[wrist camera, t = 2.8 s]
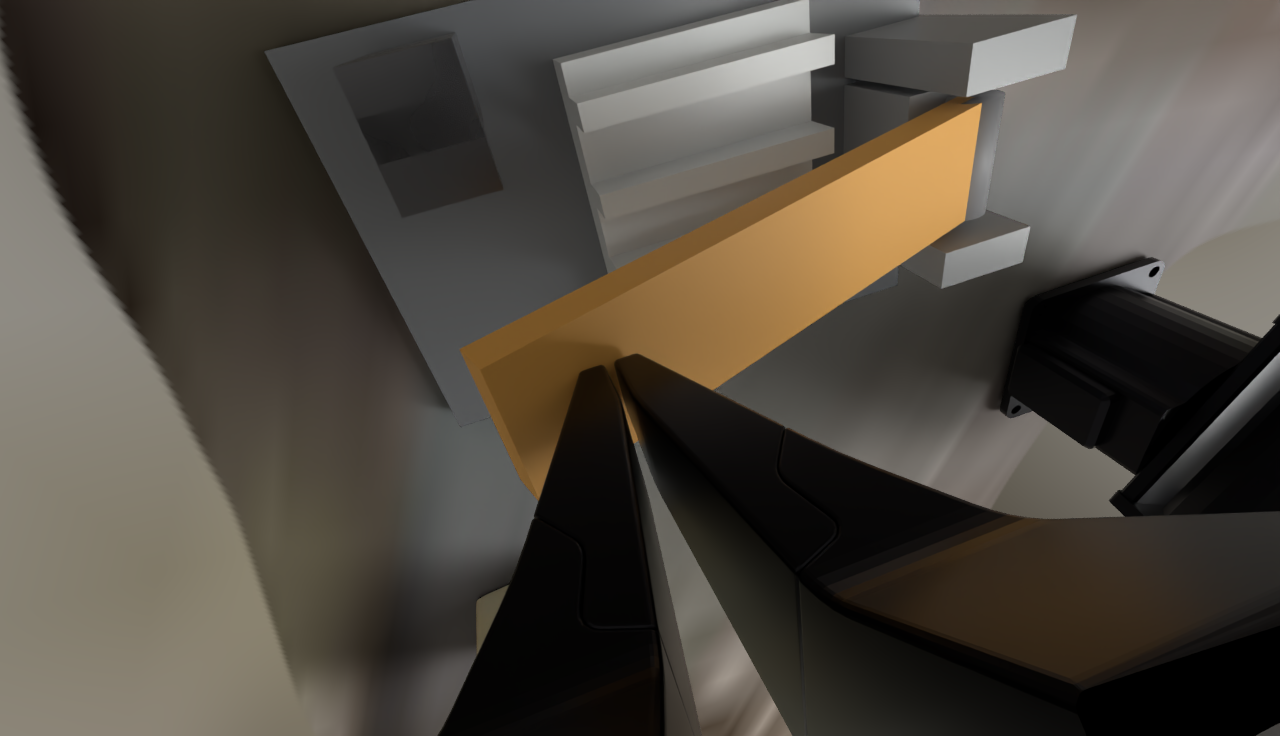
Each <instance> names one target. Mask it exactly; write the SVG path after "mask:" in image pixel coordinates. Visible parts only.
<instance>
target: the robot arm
mask: <svg viewBox="0 0 1280 736" xmlns="http://www.w3.org/2000/svg"><path fill="white" fill-rule="evenodd" d="M1164 266H1165V264H1164V262H1163V261H1161V260H1158V259H1155V258H1152V257H1151V258H1147V259H1144V260H1141V261H1138V262H1135V263H1132V264H1129V265H1126V266H1123V267H1120V268H1117V269H1114V270H1111V271H1108V272H1105V273H1102V274H1099V275H1096V276H1093V277H1090V278H1087V279H1084V280H1081V281H1078V282H1075V283H1072V284H1069V285H1066V286H1063V287H1060V288H1057V289H1054V290H1051V291H1049V292H1046V293H1043V294H1040V295H1037V296H1034V297H1033V298H1031V299H1030V300H1029V301H1028V302H1027V303H1026V304H1025V306H1024V309H1023V312H1022V317H1021V321H1020V325H1019V329H1018V334H1017V338H1016V342H1015V347H1014V351H1013V355H1012V360H1011V364H1010V368H1009V372H1008V377H1007V381H1006V385H1005V390H1004V394H1003V398H1002V402H1001V407H1000V411H1001V413H1003V414H1004V415H1005V416H1007V417H1008V418H1014V417H1017V416H1020V415H1022V414H1025V413H1028V412H1031V411H1034V412H1035V413H1037V414H1038V415H1039V416H1041V417H1042V418H1044V419H1045V420H1047V421H1048V422H1050V423H1051V424H1052V425H1054V426H1055V427H1057V428H1058V429H1060V430H1061V431H1062V432H1064V433H1065V434H1067V435H1068V436H1070V437H1071V438H1072V439H1074V440H1076V441H1077V442H1078V443H1080V444H1081V445H1082V446H1084V447H1086V448H1088V449H1092V448H1097V449H1098V450H1100V451H1101V452H1102V453H1104V454H1106V455H1107V456H1109V457H1110V458H1112V459H1113V460H1114V461H1116V462H1117V463H1118V464H1120V465H1121V466H1123V467H1124V468H1126V469H1127V470H1129V471H1130V472H1132V473H1133V474H1135V477H1134V478H1133V479H1132V480H1131V481H1130V482H1129V483H1128V484H1127V485H1126V486H1125V487H1124V489H1123V490H1118V491H1117V492H1116V493H1115V494H1114V495H1113V496H1112V497H1111V499H1110V500H1109V501H1110V502H1111V504H1112V505H1113V506H1115V507H1116V508H1117V509H1118V510H1119V511H1120V512H1121V513H1122V514H1123V515H1124V516H1125V517H1103V518H1071V519H1039V518H1027V517H1021V516H1016V515H1010V514H1006V513H1002V512H998V511H994V510H991V509H988V508H985V507H982V506H979V505H976V504H973V503H970V502H968V501H965V500H962V499H960V498H957V497H954V496H952V495H949V494H946V493H944V492H941V491H938V490H936V489H933V488H930V487H928V486H925V485H922V484H920V483H917V482H914V481H912V480H909V479H907V478H904V477H901V476H899V475H896V474H893V473H891V472H888V471H885V470H883V469H880V468H877V467H875V466H872V465H870V464H867V463H865V462H863V461H860V460H858V459H855V458H853V457H850V456H848V455H845V454H843V453H840V452H838V451H836V450H834V449H832V448H829V447H827V446H825V445H823V444H821V443H819V442H816V441H814V440H812V439H810V438H808V437H806V436H804V435H802V434H800V433H798V432H796V431H794V430H792V429H790V428H786V429H785V427H784V426H783V425H781V424H779V423H777V422H775V421H773V420H771V419H769V418H767V417H765V416H763V415H761V414H759V413H757V412H755V411H753V410H751V409H749V408H747V407H745V406H743V405H741V404H739V403H737V402H735V401H733V400H731V399H729V398H727V397H725V396H723V395H721V394H719V393H717V392H715V391H713V390H711V389H709V388H707V387H705V386H703V385H701V384H699V383H697V382H695V381H693V380H691V379H689V378H687V377H685V376H683V375H681V374H679V373H677V372H675V371H673V370H671V369H669V368H667V367H665V366H663V365H661V364H659V363H657V362H655V361H653V360H651V359H649V358H647V357H645V356H643V355H641V354H638V353H635V354H631V355H628V356H626V357H623V358H620V359H617V360H616V361H615V362H614V366H615V371H616V374H617V378H618V381H619V385H620V388H621V392H622V396H623V399H624V403H625V406H626V409H627V412H628V414H629V417H630V419H631V422H632V425H633V427H634V430H635V432H636V435H637V438H638V440H639V443H640V446H641V448H642V451H643V453H644V456H645V459H646V461H647V464H648V466H649V469H650V472H651V474H652V477H653V479H654V481H655V484H656V486H657V488H658V490H659V492H660V494H661V496H662V498H663V500H664V502H665V503H666V505H667V507H668V509H669V511H670V513H671V514H672V516H673V518H674V520H675V522H676V524H677V525H678V527H679V529H680V531H681V533H682V534H683V536H684V538H685V540H686V542H687V544H688V545H689V547H690V549H691V551H692V553H693V555H694V556H695V558H696V560H697V562H698V564H699V566H700V567H701V569H702V571H703V573H704V575H705V577H706V578H707V580H708V582H709V584H710V586H711V587H712V589H713V591H714V593H715V595H716V597H717V598H718V600H719V602H720V604H721V606H722V608H723V609H724V611H725V613H726V615H727V617H728V619H729V620H730V622H731V624H732V626H733V628H734V629H735V631H736V633H737V635H738V637H739V639H740V640H741V642H742V644H743V646H744V648H745V650H746V651H747V653H748V655H749V657H750V659H751V661H752V662H753V664H754V666H755V668H756V670H757V672H758V673H759V675H760V677H761V679H762V681H763V682H764V684H765V686H766V688H767V690H768V692H769V693H770V695H771V697H772V699H773V701H774V703H775V704H776V706H777V708H778V710H779V712H780V714H781V715H782V717H783V719H784V721H785V723H786V725H787V726H788V728H789V730H790V732H791V734H792V735H793V736H1280V315H1279V316H1278V317H1277V318H1276V319H1275V320H1274V321H1273V323H1275V325H1274V326H1273V327H1272V328H1271V329H1270V331H1269V332H1268V333H1267V334H1266V335H1265V336H1264V337H1263V338H1260V337H1258V336H1255V335H1253V334H1250V333H1248V332H1246V331H1243V330H1240V329H1238V328H1236V327H1233V326H1231V325H1228V324H1226V323H1223V322H1221V321H1218V320H1216V319H1213V318H1211V317H1209V316H1206V315H1204V314H1201V313H1199V312H1196V311H1194V310H1191V309H1189V308H1186V307H1184V306H1181V305H1179V304H1176V303H1174V302H1172V301H1169V300H1167V299H1164V298H1162V297H1159V296H1157V295H1154V293H1155V291H1156V288H1157V286H1158V283H1159V280H1160V278H1161V275H1162V273H1163V270H1164ZM438 736H702V733H701V729H700V724H699V720H698V715H697V711H696V706H695V702H694V697H693V693H692V689H691V684H690V680H689V675H688V671H687V666H686V662H685V657H684V653H683V648H682V644H681V639H680V635H679V630H678V626H677V621H676V617H675V612H674V608H673V603H672V599H671V594H670V590H669V585H668V581H667V576H666V572H665V567H664V563H663V558H662V554H661V549H660V545H659V541H658V536H657V532H656V527H655V523H654V518H653V514H652V509H651V505H650V501H649V497H648V493H647V489H646V485H645V482H644V478H643V475H642V471H641V468H640V464H639V461H638V457H637V454H636V450H635V447H634V443H633V440H632V436H631V433H630V429H629V425H628V422H627V418H626V415H625V411H624V408H623V404H622V402H621V399H620V397H619V395H618V392H617V390H616V388H615V386H614V384H613V382H612V380H611V378H610V376H609V374H608V371H607V369H606V367H605V366H604V365H598V366H595V367H592V368H589V369H586V370H583V371H581V372H580V373H579V376H578V379H577V382H576V385H575V388H574V391H573V395H572V398H571V401H570V404H569V407H568V410H567V413H566V417H565V420H564V423H563V426H562V429H561V432H560V435H559V438H558V442H557V445H556V448H555V451H554V454H553V457H552V460H551V464H550V467H549V470H548V473H547V476H546V479H545V482H544V485H543V489H542V492H541V495H540V498H539V501H538V504H537V507H536V510H535V514H534V519H533V520H532V522H531V525H530V528H529V532H528V535H527V538H526V541H525V544H524V547H523V550H522V552H521V555H520V558H519V561H518V563H517V566H516V569H515V572H514V574H513V577H512V579H511V581H510V584H509V586H508V588H507V590H506V593H505V595H504V597H503V600H502V602H501V604H500V606H499V609H498V611H497V613H496V615H495V618H494V620H493V622H492V624H491V626H490V628H489V630H488V633H487V635H486V637H485V639H484V641H483V643H482V645H481V648H480V650H479V652H478V654H477V656H476V658H475V660H474V663H473V665H472V667H471V669H470V671H469V673H468V675H467V678H466V680H465V682H464V684H463V686H462V688H461V690H460V693H459V695H458V697H457V699H456V701H455V703H454V706H453V708H452V710H451V712H450V714H449V716H448V718H447V720H446V722H445V724H444V726H443V727H442V729H441V731H440V732H439V734H438Z"/></svg>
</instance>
